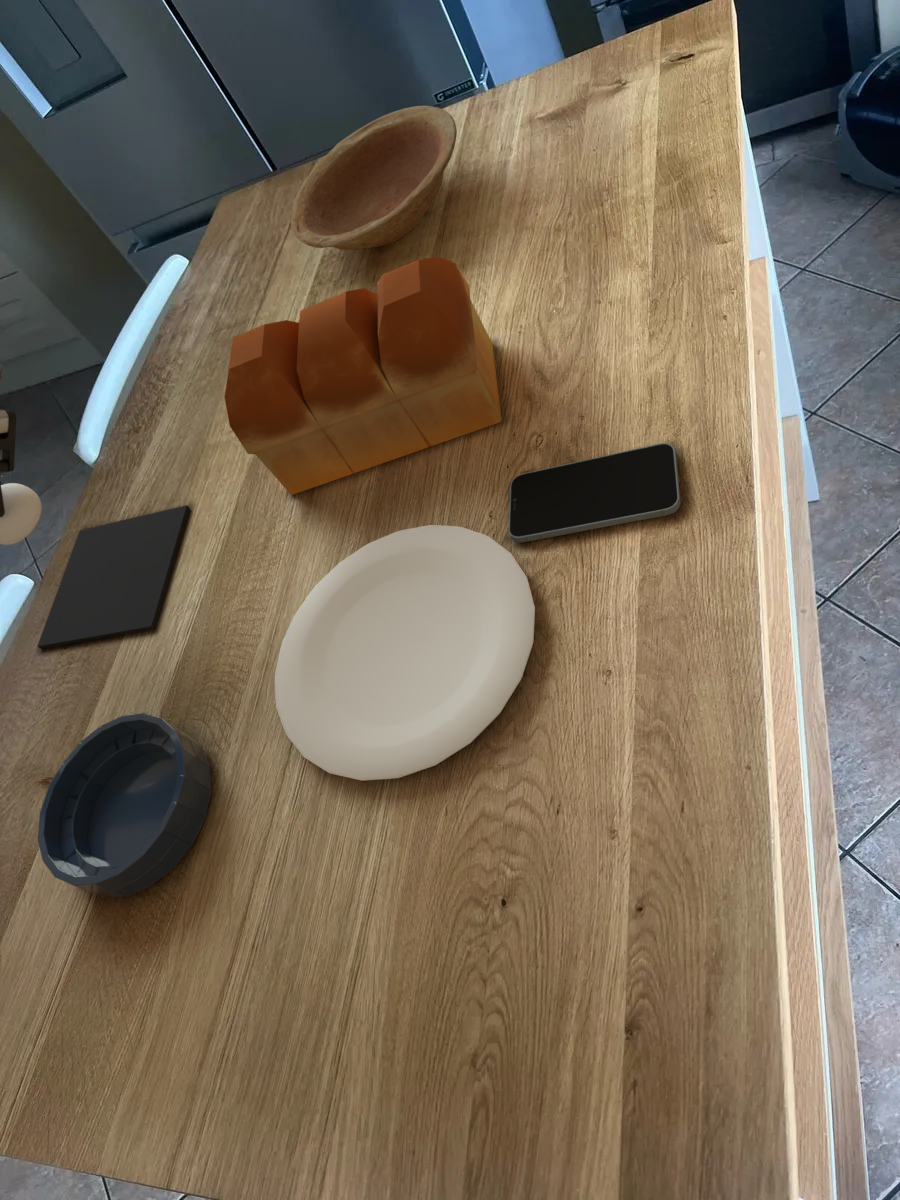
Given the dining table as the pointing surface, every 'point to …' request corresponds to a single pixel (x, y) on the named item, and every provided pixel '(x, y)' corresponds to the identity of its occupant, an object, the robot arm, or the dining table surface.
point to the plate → (405, 653)
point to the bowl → (376, 181)
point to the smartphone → (594, 493)
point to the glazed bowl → (124, 806)
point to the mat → (115, 579)
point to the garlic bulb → (18, 513)
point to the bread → (364, 377)
